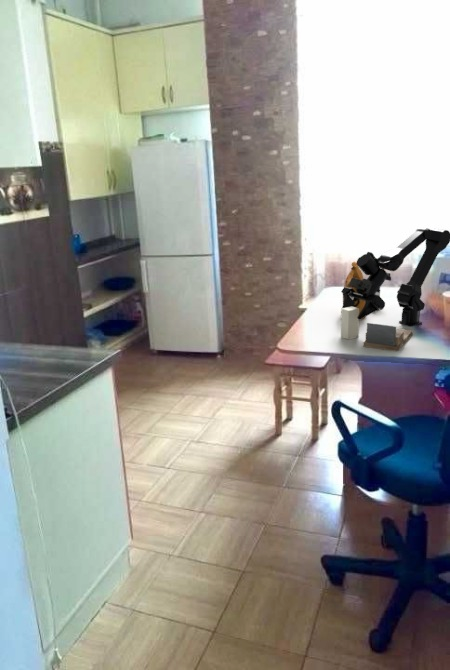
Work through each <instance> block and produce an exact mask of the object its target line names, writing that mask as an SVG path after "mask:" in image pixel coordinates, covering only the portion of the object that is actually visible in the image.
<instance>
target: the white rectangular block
mask: <svg viewBox="0 0 450 670" xmlns="http://www.w3.org/2000/svg"><path fill="white" fill-rule="evenodd" d="M340 314H341V317H340V322H341V323H340V337H341V338H343V339H346V340H352V339H355V338H359V331H360V330H359V329H360V320H359V319H358V318H357V317H358V315H359V308H356V307H353V306H351V307H346V308H341V311H340Z"/></svg>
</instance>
